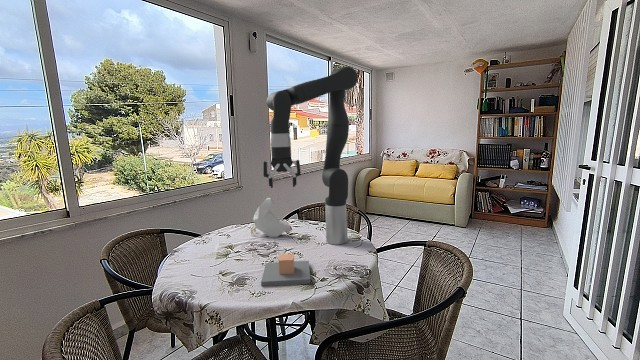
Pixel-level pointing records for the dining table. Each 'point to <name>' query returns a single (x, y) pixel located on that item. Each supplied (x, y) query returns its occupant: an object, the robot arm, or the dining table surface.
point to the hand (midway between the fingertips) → (282, 187)
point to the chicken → (269, 220)
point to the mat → (274, 278)
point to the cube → (286, 264)
